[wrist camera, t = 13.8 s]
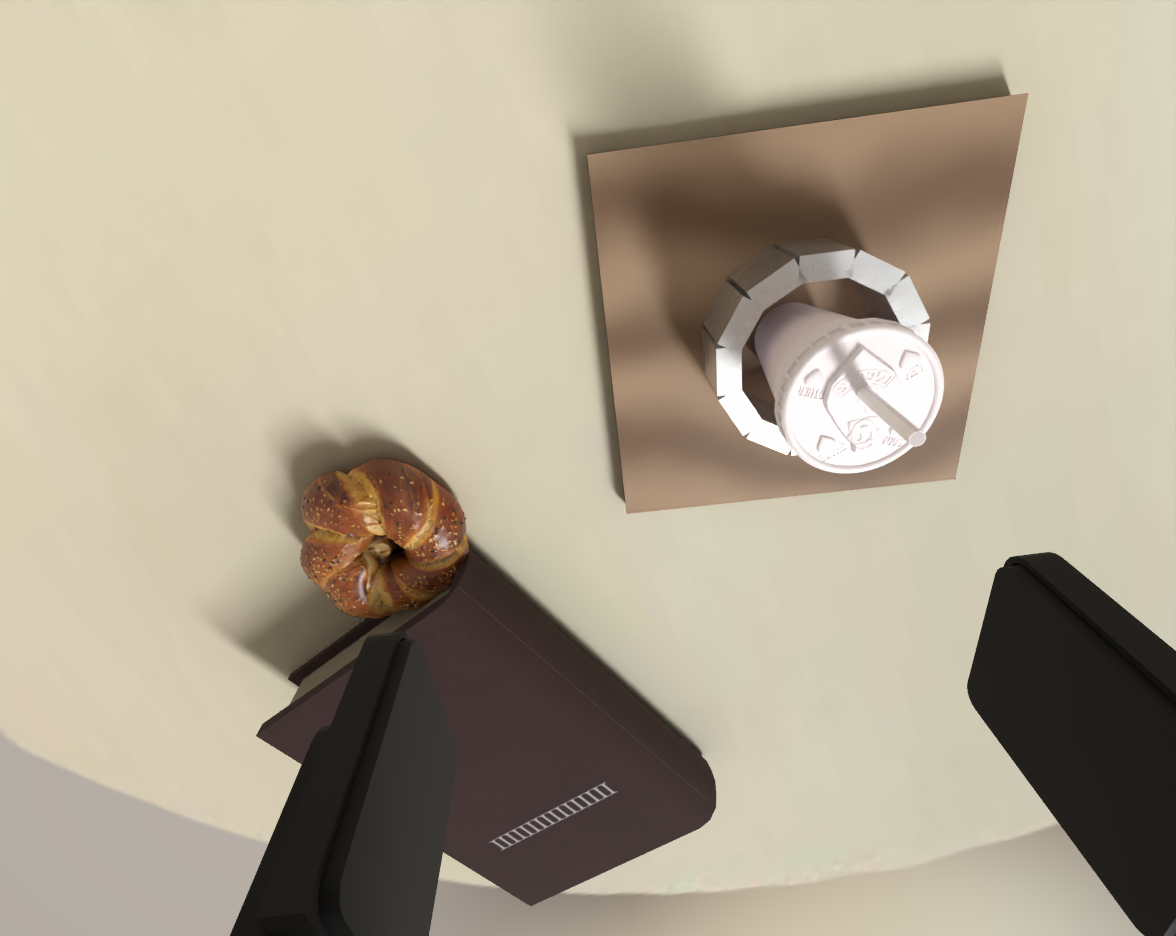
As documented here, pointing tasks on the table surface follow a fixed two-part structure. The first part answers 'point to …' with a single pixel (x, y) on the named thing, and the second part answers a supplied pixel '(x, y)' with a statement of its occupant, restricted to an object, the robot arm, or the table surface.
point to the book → (524, 740)
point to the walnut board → (791, 213)
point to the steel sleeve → (768, 283)
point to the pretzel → (381, 538)
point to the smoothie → (848, 386)
